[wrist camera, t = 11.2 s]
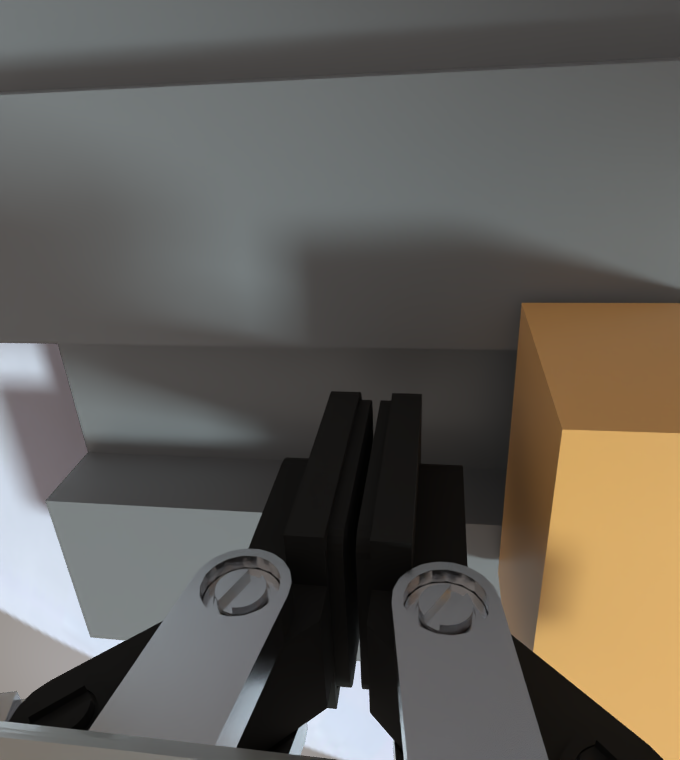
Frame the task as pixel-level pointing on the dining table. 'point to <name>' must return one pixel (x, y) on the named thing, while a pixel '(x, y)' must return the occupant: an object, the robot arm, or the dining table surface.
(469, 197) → the grey slotted track
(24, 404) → the dining table surface
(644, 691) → the switch knob
